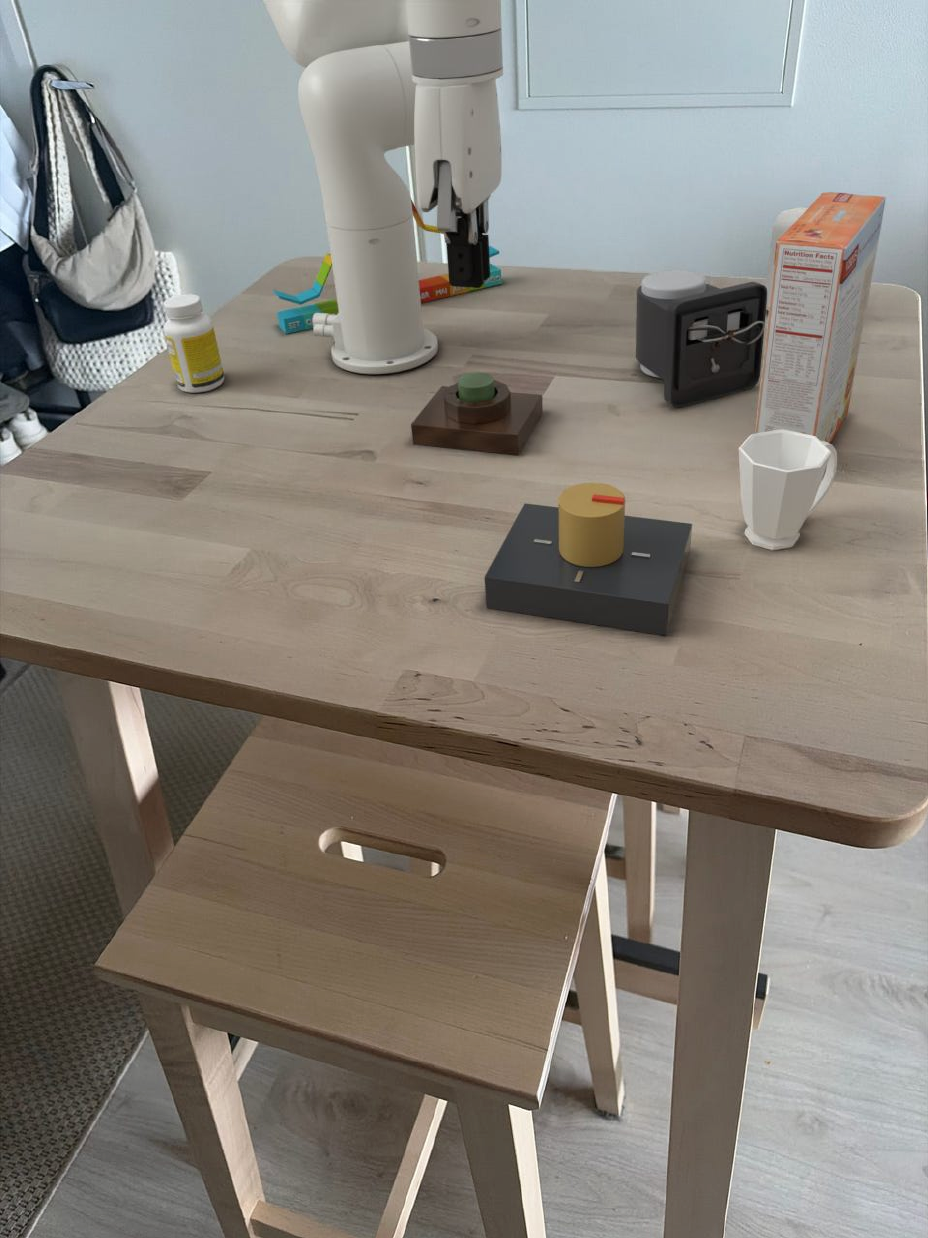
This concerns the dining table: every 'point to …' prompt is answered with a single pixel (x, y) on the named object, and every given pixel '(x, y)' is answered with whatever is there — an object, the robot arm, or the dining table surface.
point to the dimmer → (591, 524)
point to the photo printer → (779, 229)
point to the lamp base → (478, 421)
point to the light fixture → (699, 335)
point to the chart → (304, 315)
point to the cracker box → (818, 314)
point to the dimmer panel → (590, 574)
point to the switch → (476, 387)
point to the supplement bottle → (192, 345)
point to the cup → (782, 484)
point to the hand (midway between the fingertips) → (470, 281)
